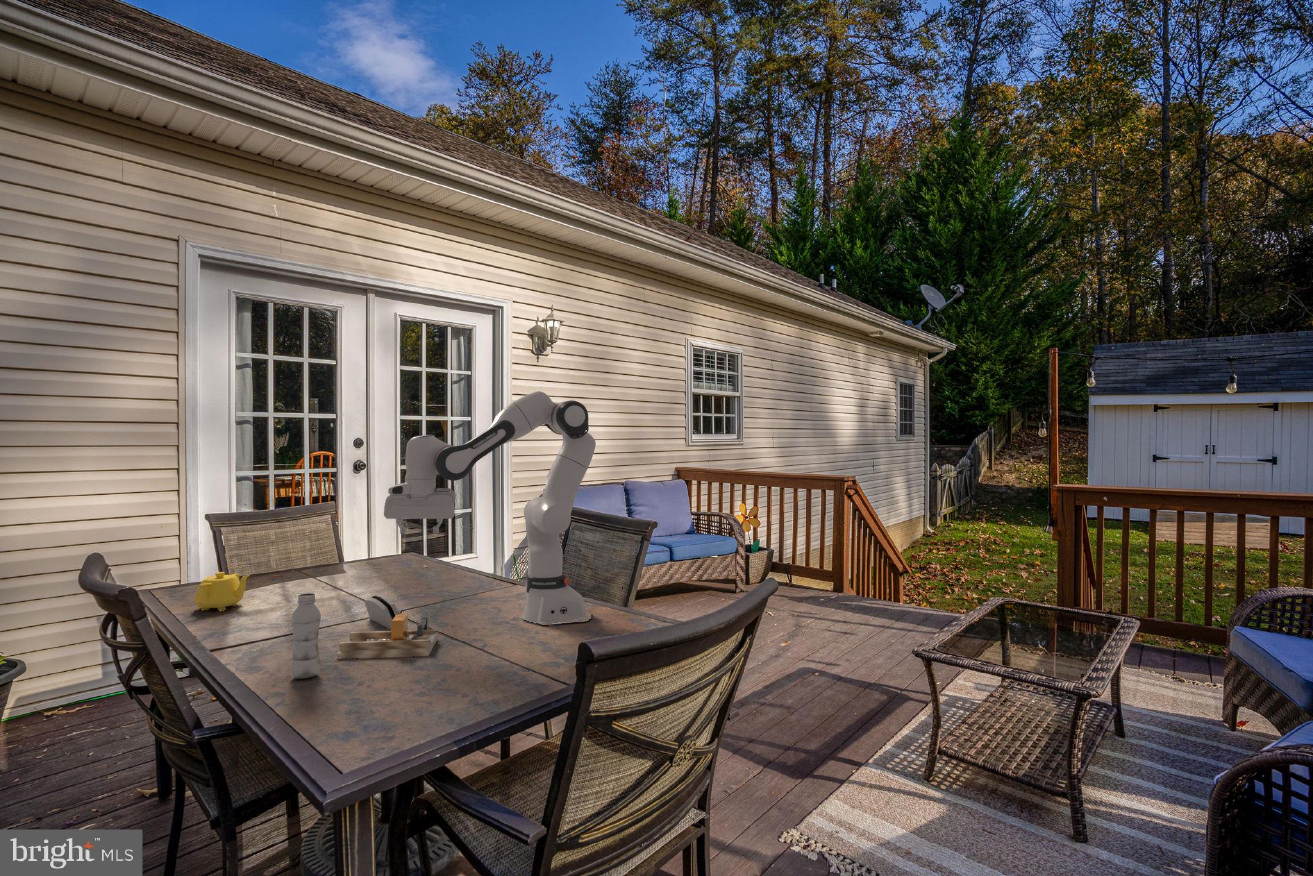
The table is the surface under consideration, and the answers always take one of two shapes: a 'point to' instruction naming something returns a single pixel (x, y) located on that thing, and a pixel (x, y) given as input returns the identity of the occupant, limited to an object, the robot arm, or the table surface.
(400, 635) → the chain end link
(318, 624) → the plastic bottle
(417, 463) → the robot arm
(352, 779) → the table surface
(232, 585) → the teapot
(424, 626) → the keeper hook
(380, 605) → the grey rounded slab
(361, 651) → the guide board
